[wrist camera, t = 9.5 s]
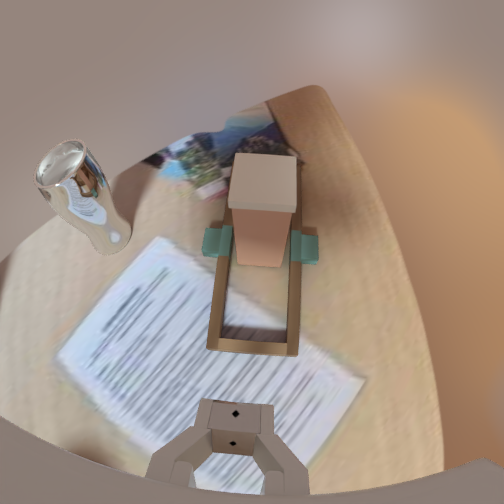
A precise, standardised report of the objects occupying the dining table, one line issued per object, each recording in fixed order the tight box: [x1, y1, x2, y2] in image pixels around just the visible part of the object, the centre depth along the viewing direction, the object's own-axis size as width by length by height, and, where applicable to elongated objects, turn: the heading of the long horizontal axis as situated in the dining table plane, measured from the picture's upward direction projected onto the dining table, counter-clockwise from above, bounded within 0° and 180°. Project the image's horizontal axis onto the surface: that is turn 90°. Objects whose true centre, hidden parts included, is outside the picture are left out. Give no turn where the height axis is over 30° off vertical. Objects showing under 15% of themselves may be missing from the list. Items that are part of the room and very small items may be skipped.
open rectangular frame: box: [202, 161, 319, 357], centre depth 35 cm, size 13×25×2 cm, turn 175°
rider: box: [228, 153, 297, 267], centre depth 30 cm, size 5×5×13 cm
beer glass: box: [34, 139, 131, 255], centre depth 30 cm, size 7×7×15 cm
